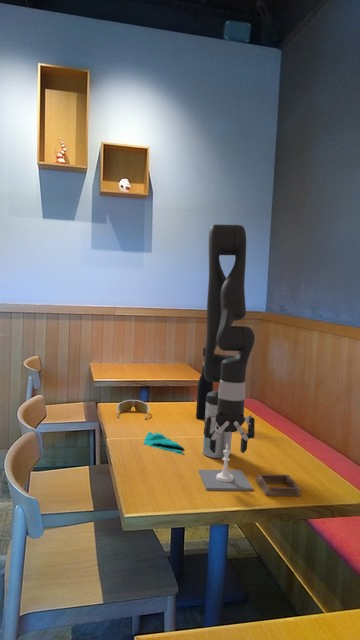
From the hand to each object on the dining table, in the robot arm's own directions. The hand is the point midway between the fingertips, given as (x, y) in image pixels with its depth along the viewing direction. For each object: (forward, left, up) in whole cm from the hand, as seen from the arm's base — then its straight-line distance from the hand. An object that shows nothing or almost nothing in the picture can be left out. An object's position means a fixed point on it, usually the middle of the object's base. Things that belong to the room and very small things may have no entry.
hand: (227, 451), depth 132 cm
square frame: (+5, +14, -8) cm, 17 cm away
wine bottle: (-66, +5, -8) cm, 66 cm away
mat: (0, 0, -8) cm, 8 cm away
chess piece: (0, 0, -8) cm, 8 cm away
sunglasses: (-68, -26, -9) cm, 73 cm away
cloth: (-32, -16, -9) cm, 37 cm away
